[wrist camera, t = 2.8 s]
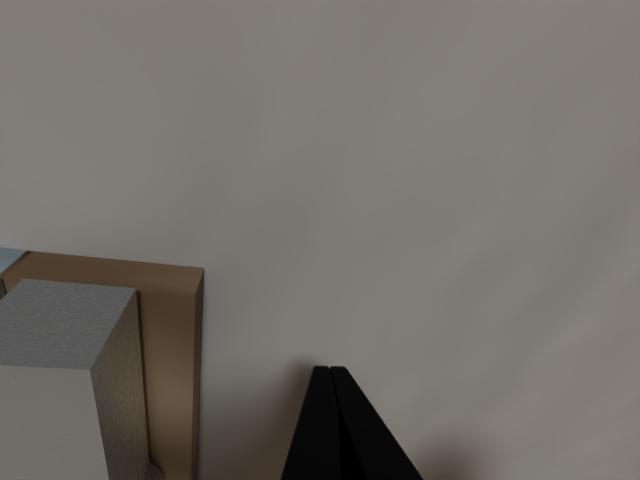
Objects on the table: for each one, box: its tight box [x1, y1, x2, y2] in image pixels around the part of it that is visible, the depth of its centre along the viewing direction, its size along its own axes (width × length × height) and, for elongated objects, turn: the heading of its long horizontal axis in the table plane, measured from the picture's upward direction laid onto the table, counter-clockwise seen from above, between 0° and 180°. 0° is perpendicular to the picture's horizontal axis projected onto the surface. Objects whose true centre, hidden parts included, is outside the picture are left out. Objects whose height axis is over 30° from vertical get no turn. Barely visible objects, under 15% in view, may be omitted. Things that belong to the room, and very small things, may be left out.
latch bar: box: [0, 278, 162, 480], centre depth 9 cm, size 10×3×3 cm, turn 170°
